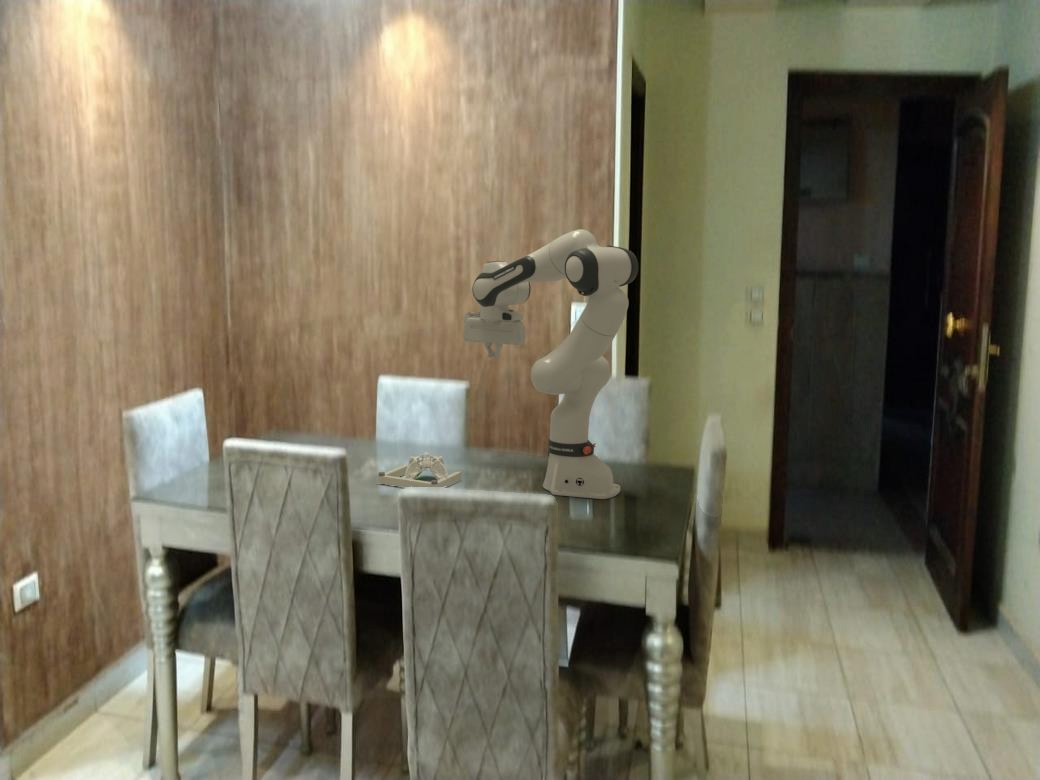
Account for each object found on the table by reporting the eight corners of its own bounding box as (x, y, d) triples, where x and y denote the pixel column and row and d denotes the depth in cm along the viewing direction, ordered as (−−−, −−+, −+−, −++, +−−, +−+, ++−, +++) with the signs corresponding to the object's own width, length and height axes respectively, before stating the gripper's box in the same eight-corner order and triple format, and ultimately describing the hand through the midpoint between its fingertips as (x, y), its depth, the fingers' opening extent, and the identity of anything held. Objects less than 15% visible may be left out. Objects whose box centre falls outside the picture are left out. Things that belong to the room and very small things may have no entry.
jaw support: (448, 465, 273) (447, 449, 265) (448, 491, 268) (447, 475, 260) (408, 465, 272) (406, 449, 265) (407, 491, 268) (405, 476, 260)
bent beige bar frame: (461, 480, 268) (461, 469, 268) (435, 493, 254) (435, 482, 254) (405, 471, 276) (405, 461, 276) (377, 484, 262) (377, 473, 262)
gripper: (459, 312, 283) (459, 356, 286) (519, 315, 275) (518, 361, 277) (469, 311, 289) (468, 354, 291) (527, 314, 281) (526, 358, 283)
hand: (493, 357), depth 284 cm, fingers closed
